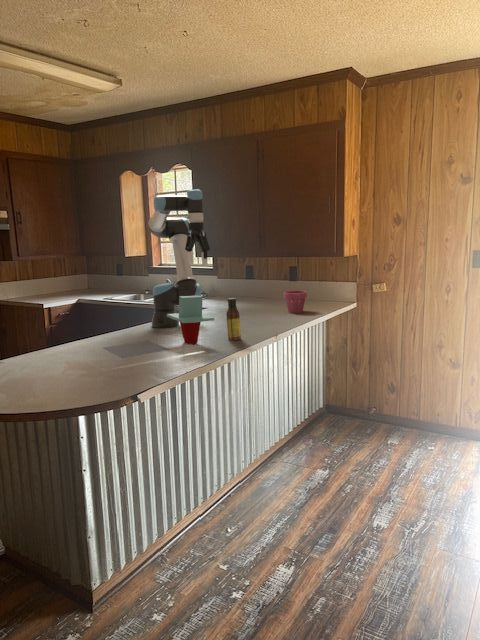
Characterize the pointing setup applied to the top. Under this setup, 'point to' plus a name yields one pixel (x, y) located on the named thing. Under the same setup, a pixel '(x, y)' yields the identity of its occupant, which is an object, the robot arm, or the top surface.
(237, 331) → the sauce bottle
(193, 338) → the plastic cup
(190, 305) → the lid
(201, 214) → the robot arm
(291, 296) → the plant pot
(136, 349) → the mat
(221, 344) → the top surface
